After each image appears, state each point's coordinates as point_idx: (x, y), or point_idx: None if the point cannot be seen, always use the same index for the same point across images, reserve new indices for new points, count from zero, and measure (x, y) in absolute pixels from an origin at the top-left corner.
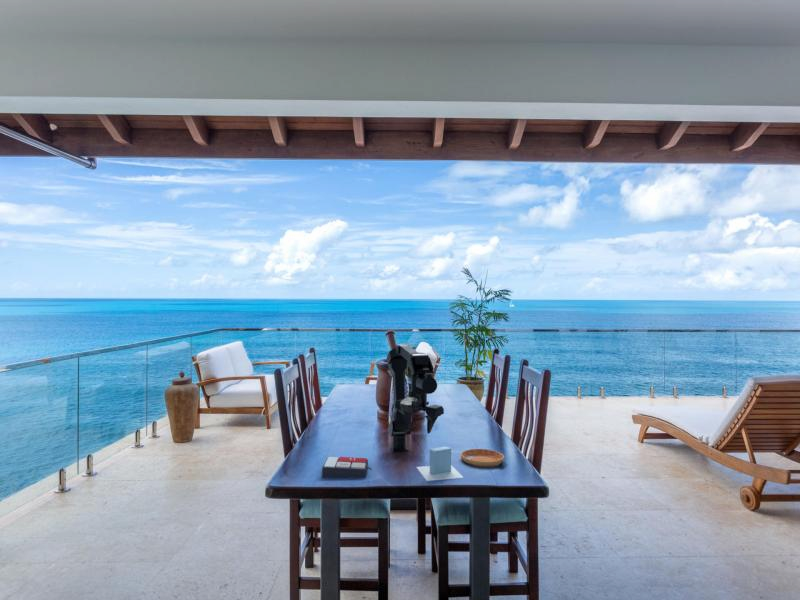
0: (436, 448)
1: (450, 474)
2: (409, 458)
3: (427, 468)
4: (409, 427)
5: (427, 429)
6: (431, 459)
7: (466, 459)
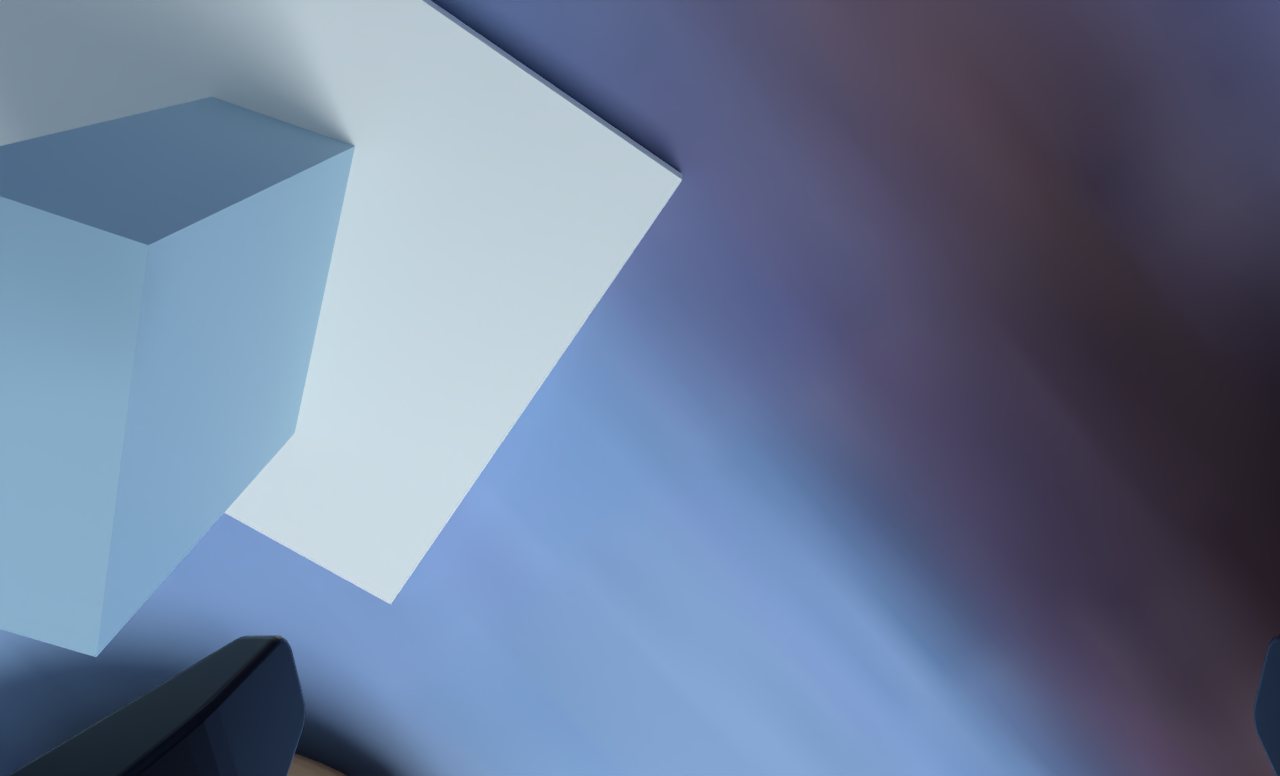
0: (81, 393)
1: None
2: (1078, 463)
3: (496, 251)
4: (1274, 718)
5: (171, 722)
6: (182, 168)
7: None
